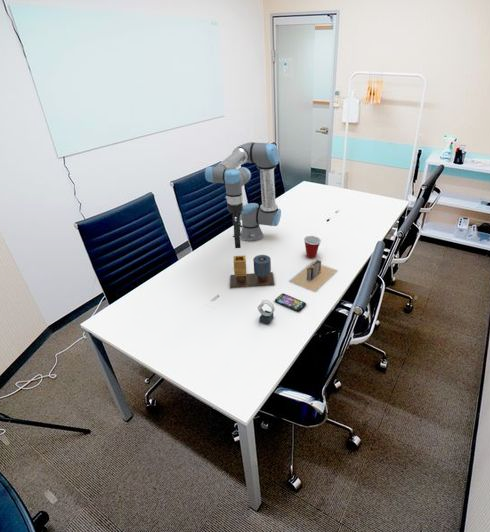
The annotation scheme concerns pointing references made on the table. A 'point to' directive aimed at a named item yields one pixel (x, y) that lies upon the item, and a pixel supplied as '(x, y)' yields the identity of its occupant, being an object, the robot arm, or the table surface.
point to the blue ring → (262, 265)
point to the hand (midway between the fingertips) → (238, 241)
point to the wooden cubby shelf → (240, 266)
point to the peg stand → (251, 279)
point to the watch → (266, 312)
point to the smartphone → (290, 302)
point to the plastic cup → (312, 245)
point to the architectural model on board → (313, 276)
